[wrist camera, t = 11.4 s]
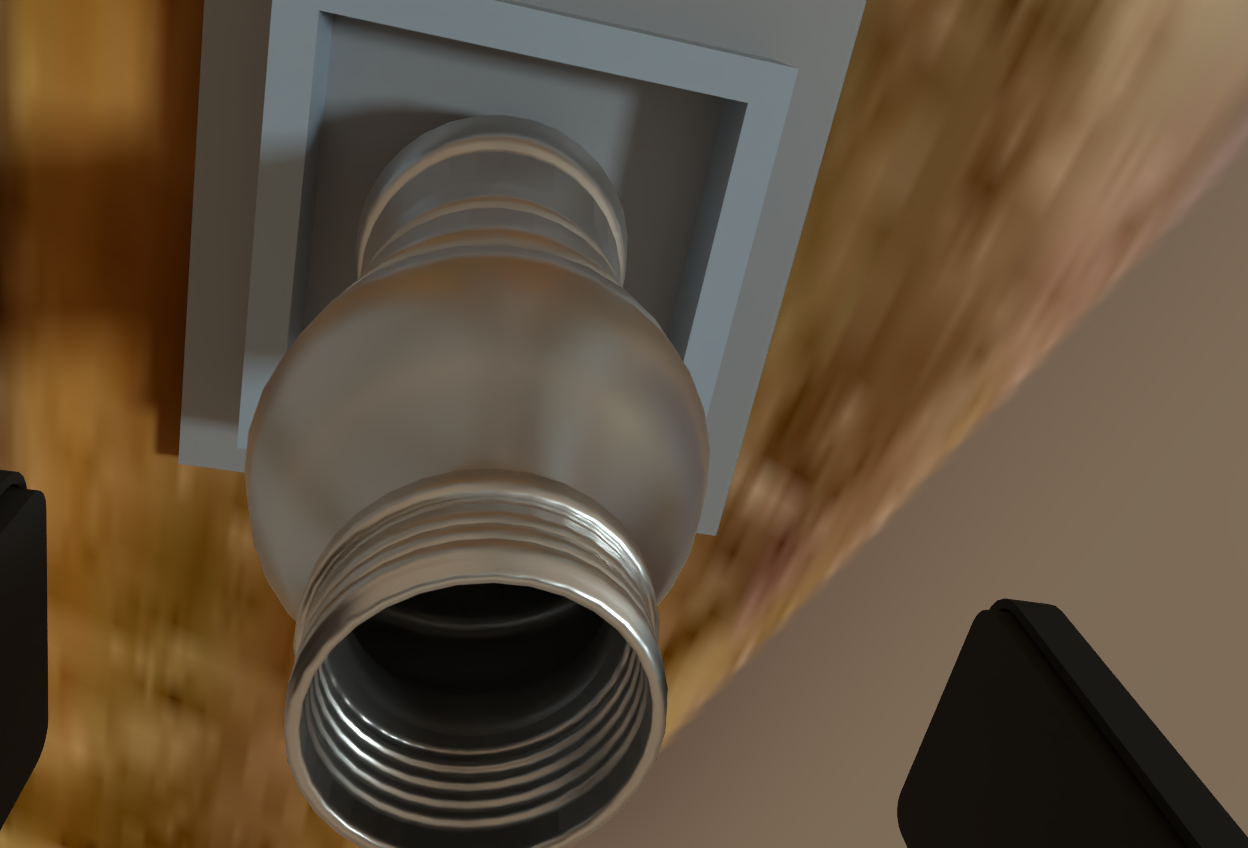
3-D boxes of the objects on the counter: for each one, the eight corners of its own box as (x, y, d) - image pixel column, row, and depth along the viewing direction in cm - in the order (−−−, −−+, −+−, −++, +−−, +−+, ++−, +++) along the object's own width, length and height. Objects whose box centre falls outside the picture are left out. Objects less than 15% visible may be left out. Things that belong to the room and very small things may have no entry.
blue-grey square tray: (221, -160, 24) (183, -176, 22) (857, -6, 27) (902, -2, 24) (185, 451, 31) (152, 505, 28) (711, 523, 33) (732, 578, 30)
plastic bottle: (665, 239, 29) (950, 730, 11) (479, 389, 30) (446, 1061, 12) (510, 44, 26) (531, 247, 8) (313, 216, 27) (-50, 729, 9)
